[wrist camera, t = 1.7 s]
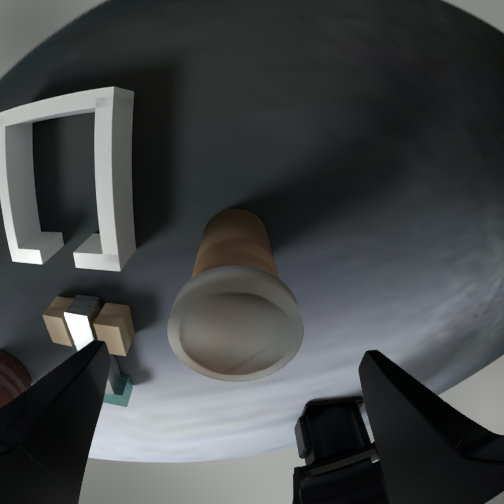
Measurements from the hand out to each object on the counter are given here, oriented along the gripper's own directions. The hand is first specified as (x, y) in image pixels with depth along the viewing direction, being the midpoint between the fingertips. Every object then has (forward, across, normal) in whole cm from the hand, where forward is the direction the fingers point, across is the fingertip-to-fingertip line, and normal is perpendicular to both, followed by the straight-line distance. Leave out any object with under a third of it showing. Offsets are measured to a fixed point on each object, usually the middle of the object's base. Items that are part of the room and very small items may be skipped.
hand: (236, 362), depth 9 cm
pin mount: (+10, +11, +7) cm, 16 cm away
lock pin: (+10, +11, +9) cm, 18 cm away
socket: (+10, +11, -4) cm, 15 cm away
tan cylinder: (+10, 0, 0) cm, 10 cm away
